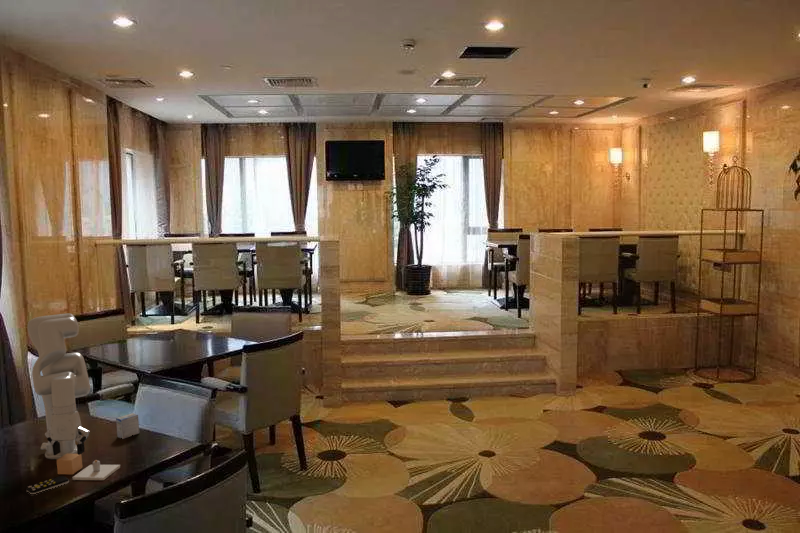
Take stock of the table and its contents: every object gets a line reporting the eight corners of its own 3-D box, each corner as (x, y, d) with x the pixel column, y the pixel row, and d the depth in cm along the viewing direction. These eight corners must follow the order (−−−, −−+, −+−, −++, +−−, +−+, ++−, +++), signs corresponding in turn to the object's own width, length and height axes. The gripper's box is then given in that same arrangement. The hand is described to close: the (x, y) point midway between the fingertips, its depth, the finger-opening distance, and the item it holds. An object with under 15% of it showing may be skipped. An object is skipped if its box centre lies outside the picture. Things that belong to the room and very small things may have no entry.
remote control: (70, 483, 224) (70, 478, 223) (32, 497, 214) (31, 491, 214) (63, 479, 227) (63, 474, 227) (25, 492, 218) (24, 486, 218)
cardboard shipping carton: (57, 474, 231) (56, 460, 230) (67, 467, 237) (66, 453, 236) (72, 474, 230) (71, 460, 230) (82, 467, 236) (81, 453, 236)
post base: (72, 479, 226) (71, 466, 225) (90, 467, 237) (89, 454, 236) (103, 480, 224) (102, 466, 224) (120, 467, 235) (119, 454, 235)
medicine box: (134, 431, 273) (132, 412, 273) (139, 433, 271) (138, 414, 270) (117, 437, 267) (115, 418, 266) (122, 439, 265) (121, 419, 264)
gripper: (36, 412, 228) (41, 457, 229) (80, 411, 226) (84, 456, 227) (50, 406, 236) (54, 450, 237) (92, 405, 234) (96, 449, 235)
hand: (69, 453), depth 232 cm, fingers open, 9 cm apart
